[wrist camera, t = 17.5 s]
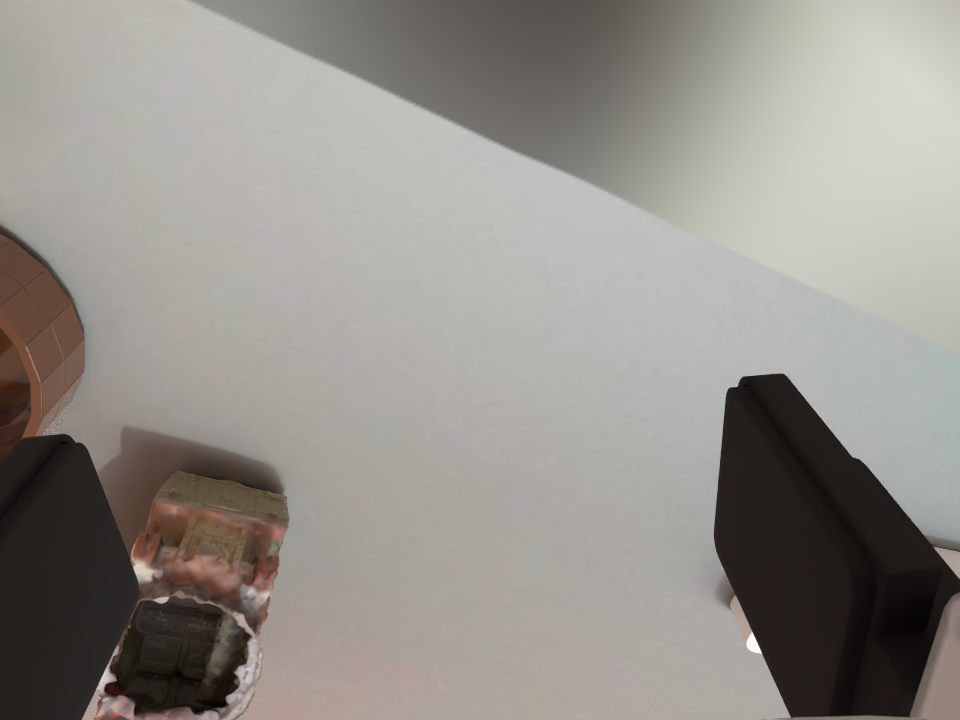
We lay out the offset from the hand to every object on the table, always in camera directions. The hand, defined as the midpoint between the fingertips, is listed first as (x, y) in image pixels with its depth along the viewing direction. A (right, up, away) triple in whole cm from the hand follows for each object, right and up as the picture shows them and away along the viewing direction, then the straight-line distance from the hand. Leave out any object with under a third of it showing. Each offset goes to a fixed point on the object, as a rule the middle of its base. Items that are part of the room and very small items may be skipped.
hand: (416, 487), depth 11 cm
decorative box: (-17, -14, +43) cm, 48 cm away
